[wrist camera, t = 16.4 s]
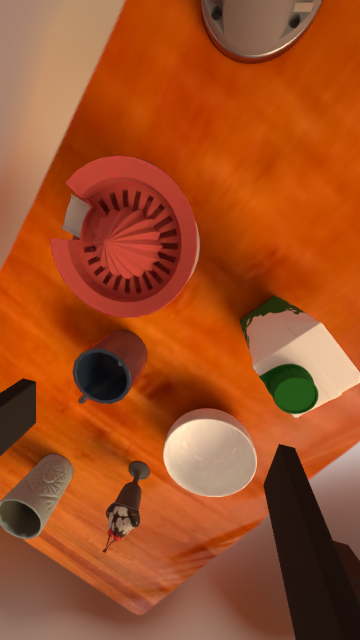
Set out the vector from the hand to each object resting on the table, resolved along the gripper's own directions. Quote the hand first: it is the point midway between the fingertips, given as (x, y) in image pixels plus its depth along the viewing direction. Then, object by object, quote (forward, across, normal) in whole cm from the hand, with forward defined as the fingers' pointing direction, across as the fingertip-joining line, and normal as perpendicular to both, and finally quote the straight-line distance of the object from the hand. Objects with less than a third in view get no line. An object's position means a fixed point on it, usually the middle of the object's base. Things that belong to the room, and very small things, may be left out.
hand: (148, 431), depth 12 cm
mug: (+31, -13, -14) cm, 36 cm away
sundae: (+31, -5, -40) cm, 51 cm away
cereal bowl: (+31, +8, -25) cm, 41 cm away
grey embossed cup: (+31, -25, -46) cm, 61 cm away
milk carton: (+31, +13, 0) cm, 34 cm away
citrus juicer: (+31, -9, +9) cm, 33 cm away
